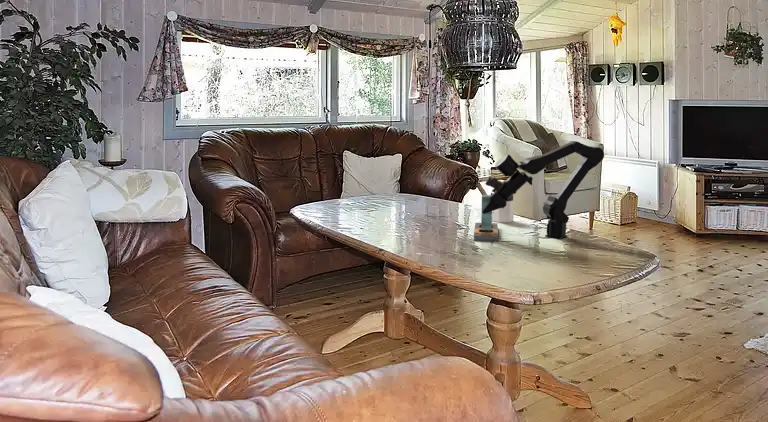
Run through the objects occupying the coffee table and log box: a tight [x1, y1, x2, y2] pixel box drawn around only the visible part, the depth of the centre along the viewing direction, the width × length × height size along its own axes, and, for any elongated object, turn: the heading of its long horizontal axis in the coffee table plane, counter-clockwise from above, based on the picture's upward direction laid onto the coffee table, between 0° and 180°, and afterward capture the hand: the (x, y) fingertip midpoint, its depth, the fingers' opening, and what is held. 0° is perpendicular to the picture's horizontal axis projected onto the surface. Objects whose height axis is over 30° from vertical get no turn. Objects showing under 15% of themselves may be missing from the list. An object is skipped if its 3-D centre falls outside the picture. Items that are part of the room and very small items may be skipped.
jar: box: [492, 194, 515, 224], centre depth 283 cm, size 9×8×12 cm
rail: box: [473, 222, 499, 242], centre depth 256 cm, size 26×9×2 cm, turn 170°
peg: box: [480, 194, 493, 230], centre depth 249 cm, size 4×4×13 cm
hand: (483, 212), depth 250 cm, fingers closed on peg, 4 cm apart
